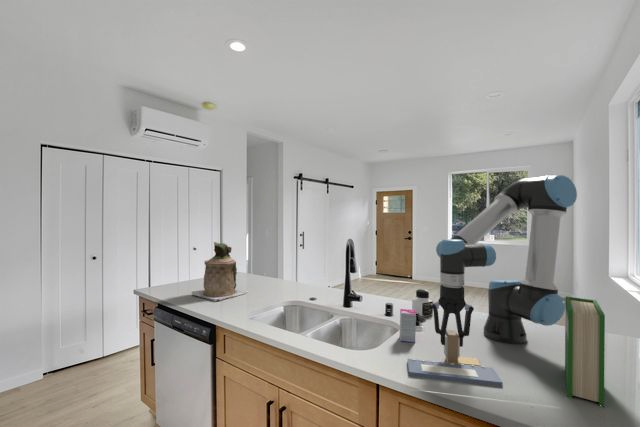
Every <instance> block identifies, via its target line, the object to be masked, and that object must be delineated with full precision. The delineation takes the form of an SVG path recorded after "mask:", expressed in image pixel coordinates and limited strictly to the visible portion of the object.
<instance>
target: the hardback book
mask: <svg viewBox="0 0 640 427" xmlns="http://www.w3.org/2000/svg"><path fill="white" fill-rule="evenodd" d="M564 315H565V317H564V318H565V319H564V320H565V321H564V322H565V323H564V324H565V325H564V330H565V332H564V333H565V337H564V375H565V384H567V385H566V392H567V398H568V397H570V398H569V399H571V398H572V399H573V396H575V397H578V398H581V399H586V400H589V401H592V402H597V403H598V402H599V403H598V406H599V405H601V406H604V407H605V348H606V347H605V346H606V345H605V337H606V335H605V334H606V333H605V332H606V330H605V329H606V327H605V325H606V322H605V320H606V315H605V313H604V311H603V310H602V307H601V306H600V304H599V303H598V300H597V299H589V298H581V297H573V296H565V311H564ZM601 406H600V407H601Z"/></svg>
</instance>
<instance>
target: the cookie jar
mask: <svg viewBox="0 0 640 427" xmlns="http://www.w3.org/2000/svg"><path fill="white" fill-rule="evenodd" d="M213 244H214V246H213V247H214V249H213V251H214V253H215V255H214V256H212V257H211V258H210V259H207V260H204V266H205V267H204V268H205V269H204V275H203V289H201V290H195V291H191V294H192V296H193V297H194V296H196V297H200V298H203V299H207V300H210V301H213V302H217V301H224V300H225V299H231V298H234V297H235V298H236V297H239V296H243V295H246V294H248V290H247V289H241V288H237V282H236V281H237V275H238V272H237V270H238V268H237V262H236V260H235V259H234V258H232V257H231V255H230V254H231V253H232V247H231V246H228V244H226V243H224V242H222V243H221V242H217V241H214V243H213Z"/></svg>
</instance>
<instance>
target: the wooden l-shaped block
mask: <svg viewBox="0 0 640 427" xmlns="http://www.w3.org/2000/svg"><path fill="white" fill-rule="evenodd" d="M446 334H447V336H448V356H445V359H446V363H454V364H464V365H474V366H482V365H481V362H480V361H479V360H478V358H474V357H467V356H466V357H465V356H460V357H458V332H457V331H456V329H447V328H446Z"/></svg>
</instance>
